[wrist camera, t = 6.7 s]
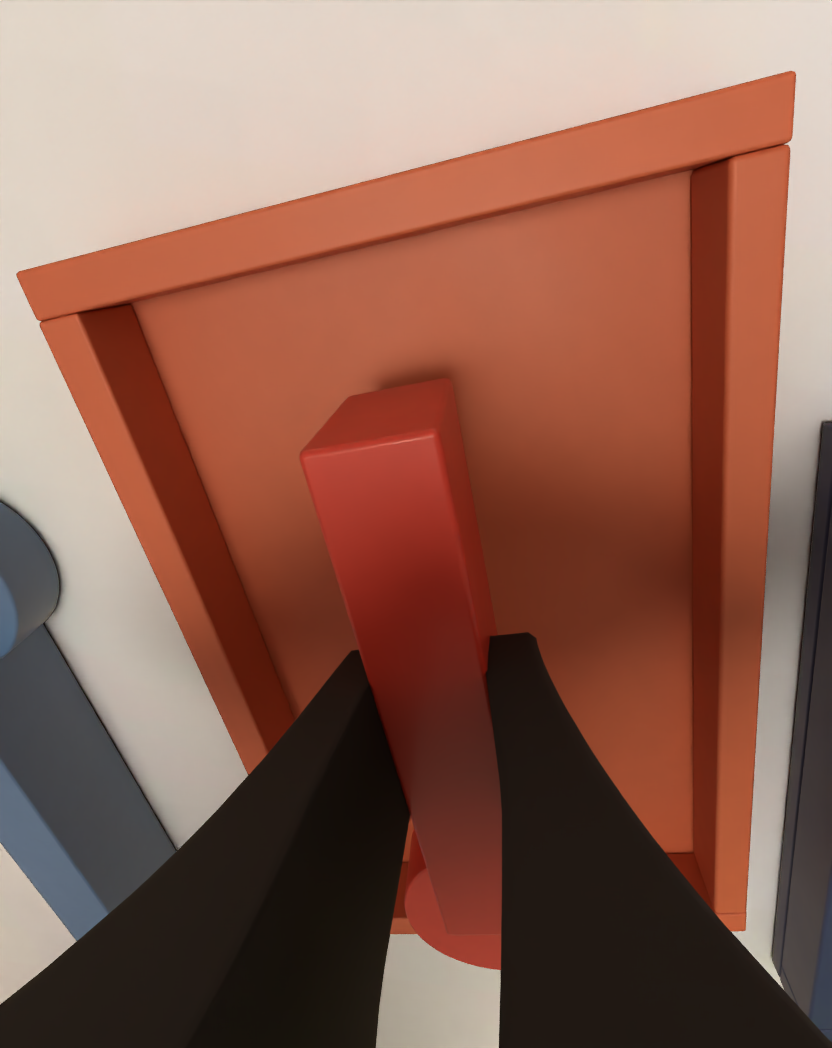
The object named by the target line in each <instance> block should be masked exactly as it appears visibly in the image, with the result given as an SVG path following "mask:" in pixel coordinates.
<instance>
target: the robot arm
mask: <svg viewBox="0 0 832 1048" xmlns="http://www.w3.org/2000/svg"><path fill="white" fill-rule="evenodd" d="M486 678H487V686H488V694H489V702H490V710H491V718H492V726H493V733H494V741H495V749H496V757H497V765H498V772H499V780H500V794H501V808H502V916H501V990H500V1028H499V1048H832V1042H831V1041H830V1040H829V1039H828V1038H827V1037H826V1036H825V1035H824V1034H823V1033H822V1032H821V1031H820V1030H819V1028H818V1027H817V1026H816V1025H815V1024H814V1023H813V1022H812V1021H811V1020H810V1019H809V1017H808V1016H807V1015H806V1014H805V1013H804V1012H803V1011H802V1010H801V1009H800V1008H799V1006H798V1005H797V1004H796V1003H795V1002H794V1001H793V1000H792V999H791V998H790V996H789V995H788V994H787V993H786V992H785V991H784V990H783V989H782V988H781V987H780V985H779V984H778V983H777V982H776V981H775V980H774V979H773V978H772V977H771V976H770V974H769V973H768V972H767V971H766V970H765V969H764V968H763V967H762V966H761V964H760V963H759V962H758V961H757V960H756V959H755V958H754V957H753V956H752V955H751V953H750V952H749V951H748V950H747V949H746V948H745V947H744V946H743V945H742V943H741V942H740V941H739V940H738V939H737V938H736V937H735V936H734V935H733V934H732V932H731V931H730V930H729V929H728V928H727V927H726V926H725V925H724V923H723V922H722V921H721V920H720V919H719V918H718V916H717V915H716V914H715V913H714V912H713V910H712V909H711V908H710V907H709V906H708V904H707V903H706V902H705V901H704V900H703V898H702V897H701V896H700V895H699V894H698V892H697V891H696V890H695V889H694V888H693V886H692V885H691V884H690V883H689V882H688V880H687V879H686V878H685V877H684V876H683V874H682V873H681V872H680V871H679V869H678V868H677V867H676V866H675V864H674V863H673V862H672V861H671V859H670V858H669V857H668V856H667V854H666V853H665V852H664V850H663V849H662V848H661V847H660V845H659V844H658V843H657V842H656V840H655V839H654V838H653V836H652V835H651V834H650V833H649V831H648V830H647V829H646V827H645V826H644V825H643V823H642V822H641V821H640V819H639V818H638V817H637V815H636V814H635V812H634V811H633V810H632V808H631V807H630V806H629V804H628V803H627V801H626V800H625V799H624V797H623V796H622V794H621V793H620V792H619V790H618V789H617V787H616V786H615V784H614V783H613V781H612V780H611V778H610V777H609V776H608V774H607V773H606V771H605V770H604V768H603V767H602V765H601V764H600V762H599V761H598V759H597V758H596V756H595V755H594V753H593V751H592V750H591V748H590V747H589V745H588V744H587V742H586V740H585V739H584V737H583V735H582V734H581V732H580V730H579V729H578V727H577V725H576V724H575V722H574V720H573V719H572V717H571V715H570V714H569V712H568V710H567V708H566V707H565V705H564V703H563V701H562V699H561V697H560V696H559V694H558V692H557V690H556V688H555V686H554V684H553V682H552V680H551V678H550V675H549V673H548V671H547V669H546V666H545V664H544V662H543V659H542V656H541V653H540V650H539V647H538V644H537V638H536V637H534V636H533V635H532V634H530V633H529V632H525V633H515V634H506V635H496V636H490V641H489V651H488V670H487V672H486ZM409 818H410V813H409V810H408V806H407V803H406V800H405V797H404V794H403V790H402V787H401V784H400V781H399V777H398V774H397V771H396V768H395V765H394V761H393V758H392V755H391V752H390V749H389V745H388V742H387V739H386V736H385V732H384V729H383V726H382V723H381V720H380V716H379V713H378V710H377V707H376V703H375V700H374V697H373V694H372V691H371V687H370V684H369V681H368V678H367V675H366V672H365V668H364V665H363V662H362V659H361V655H360V652H359V650H351V651H350V653H349V654H348V655H347V656H346V657H345V659H344V660H343V661H342V662H341V664H340V665H339V666H338V667H337V669H336V670H335V671H334V672H333V674H332V675H331V676H330V677H329V679H328V680H327V681H326V682H325V684H324V685H323V686H322V687H321V689H320V690H319V691H318V692H317V694H316V695H315V696H314V698H313V699H312V700H311V701H310V703H309V704H308V705H307V706H306V708H305V709H304V710H303V711H302V713H301V714H300V715H299V716H298V718H297V719H296V720H295V721H294V722H293V724H292V725H291V726H290V727H289V729H288V730H287V731H286V732H285V733H284V735H283V736H282V737H281V738H280V739H279V741H278V742H277V743H276V744H275V746H274V747H273V748H272V749H271V750H270V752H269V753H268V754H267V755H266V756H265V757H264V759H263V760H262V761H261V762H260V763H259V764H258V765H257V766H256V767H255V769H254V770H253V771H252V772H251V773H250V774H249V775H248V776H247V778H246V779H245V780H244V781H243V782H242V783H241V784H240V785H239V786H238V788H237V789H236V790H235V791H234V792H233V793H232V794H231V795H230V797H229V798H228V799H227V800H226V801H225V802H224V803H223V804H222V805H221V807H220V808H219V809H218V810H217V811H216V812H215V813H214V814H213V815H212V816H211V817H210V818H209V819H208V820H207V821H206V822H205V823H204V824H203V825H202V827H201V828H200V829H199V830H198V831H197V832H196V833H195V834H194V835H193V836H192V837H191V838H190V839H189V840H188V841H187V842H186V843H185V844H184V845H183V846H182V847H181V848H179V849H178V850H177V851H176V852H175V853H174V854H173V855H172V856H171V857H170V858H169V859H168V860H167V861H166V862H165V863H164V864H163V865H162V866H161V867H160V868H159V869H158V870H157V871H156V872H155V873H153V874H152V875H151V876H150V877H149V878H148V879H147V880H146V881H145V882H144V883H143V884H142V885H141V886H140V887H139V888H137V889H136V890H135V891H134V892H133V893H132V894H131V895H130V896H129V897H127V898H126V899H125V900H124V901H123V902H122V903H121V904H119V905H118V906H117V907H116V908H115V909H114V910H112V911H111V912H110V913H109V914H108V915H107V916H106V917H104V918H103V919H102V920H101V921H100V922H99V923H97V924H96V925H95V926H94V927H93V928H92V929H91V930H89V931H88V932H87V933H86V934H85V935H84V936H83V937H81V938H80V939H79V940H78V941H77V942H76V943H74V944H73V945H72V946H71V947H70V948H69V949H68V950H66V951H65V952H64V953H63V954H62V955H61V956H59V957H58V958H57V959H56V960H55V961H54V962H53V963H51V964H50V965H49V966H48V967H47V968H45V969H44V970H43V971H42V972H40V973H39V974H38V975H37V976H36V977H34V978H33V979H32V980H31V981H29V982H28V983H27V984H26V985H24V986H23V987H22V988H21V989H19V990H18V991H17V992H16V993H14V994H13V995H12V996H11V997H9V998H8V999H7V1000H6V1001H4V1002H3V1003H2V1004H1V1005H0V1048H376V1038H377V1026H378V1014H379V1004H380V997H381V989H382V982H383V974H384V967H385V961H386V955H387V949H388V943H389V937H390V931H391V926H392V920H393V914H394V908H395V902H396V896H397V890H398V884H399V879H400V873H401V867H402V861H403V855H404V849H405V843H406V837H407V831H408V825H409Z"/></svg>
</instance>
